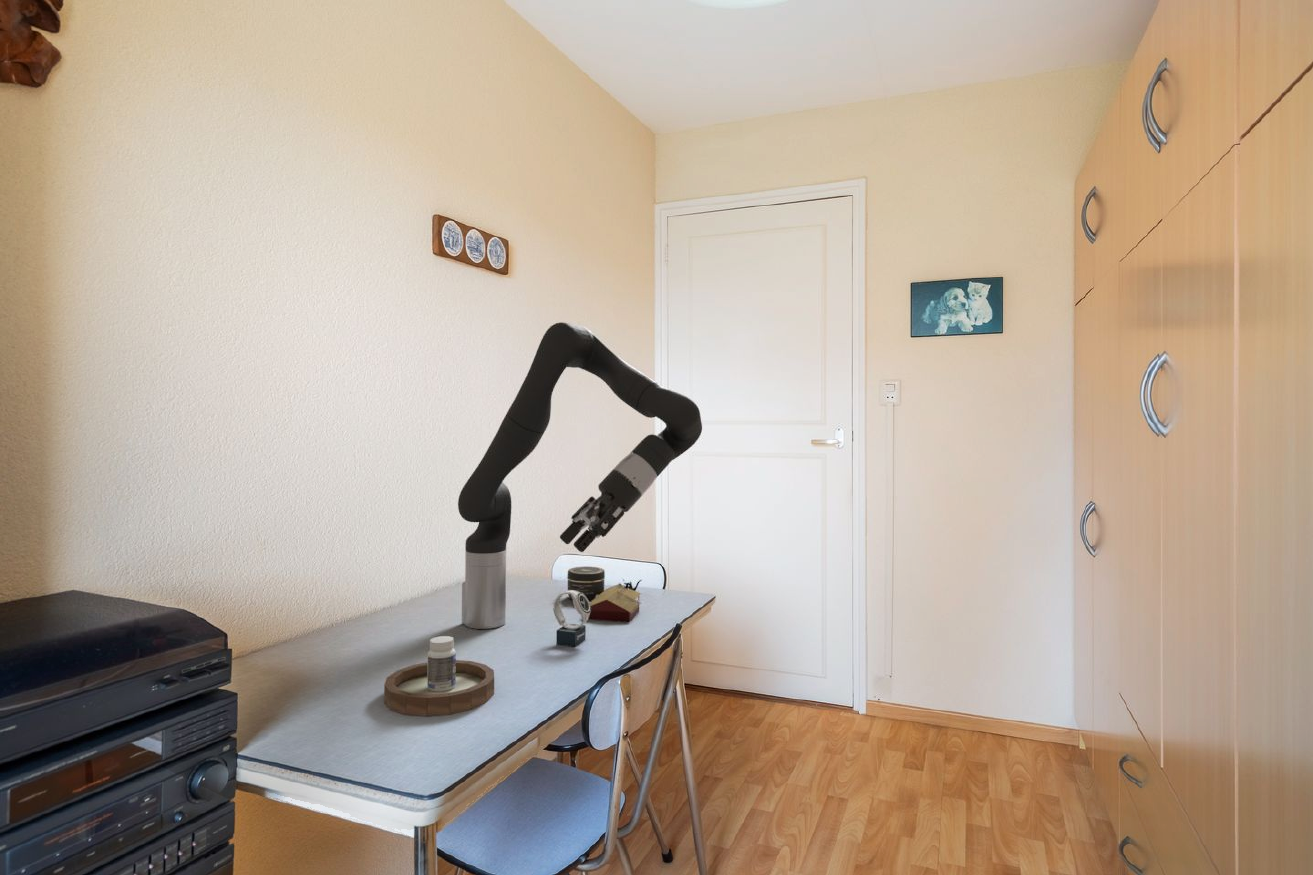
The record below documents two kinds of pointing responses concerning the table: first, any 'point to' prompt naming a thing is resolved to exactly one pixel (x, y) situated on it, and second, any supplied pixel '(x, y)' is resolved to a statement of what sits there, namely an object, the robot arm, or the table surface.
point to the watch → (572, 632)
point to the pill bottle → (441, 664)
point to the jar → (586, 581)
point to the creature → (630, 585)
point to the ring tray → (414, 697)
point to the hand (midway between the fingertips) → (570, 544)
